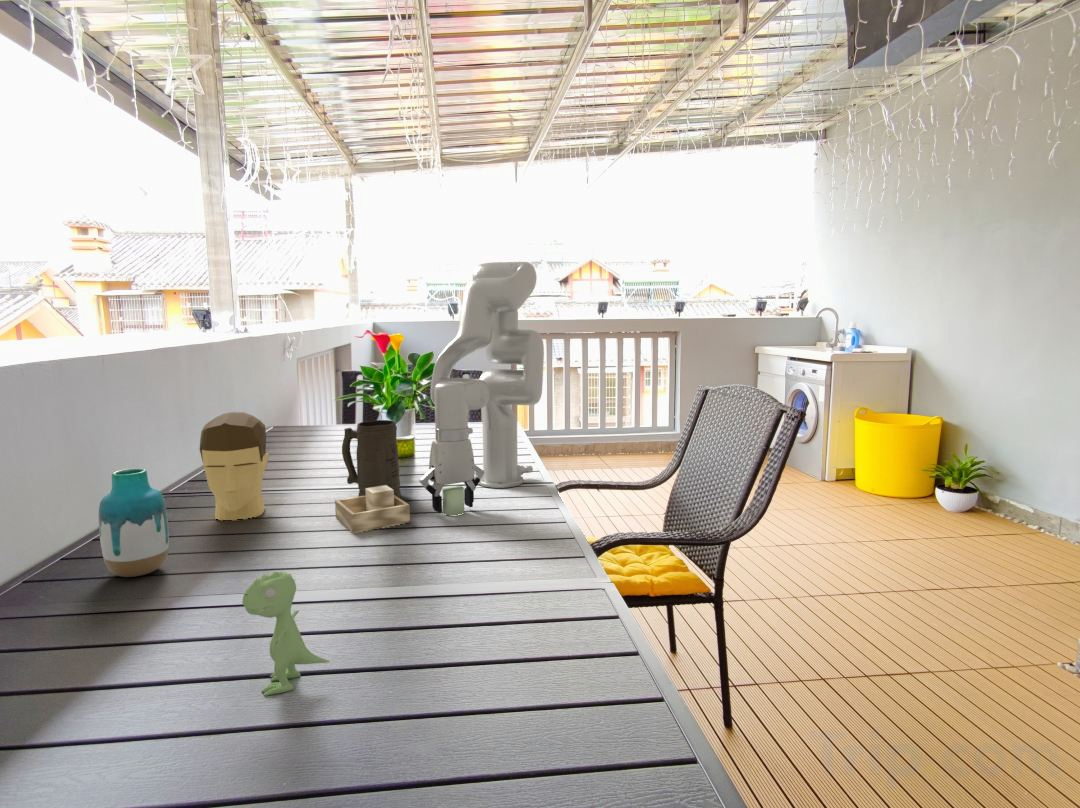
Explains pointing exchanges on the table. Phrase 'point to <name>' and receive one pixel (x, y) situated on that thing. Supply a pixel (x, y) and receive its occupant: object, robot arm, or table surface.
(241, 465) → the head
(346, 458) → the beer stein
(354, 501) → the box
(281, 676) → the toy
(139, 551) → the vase
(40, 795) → the table surface
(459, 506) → the green cylinder
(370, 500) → the cream block
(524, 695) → the table surface
